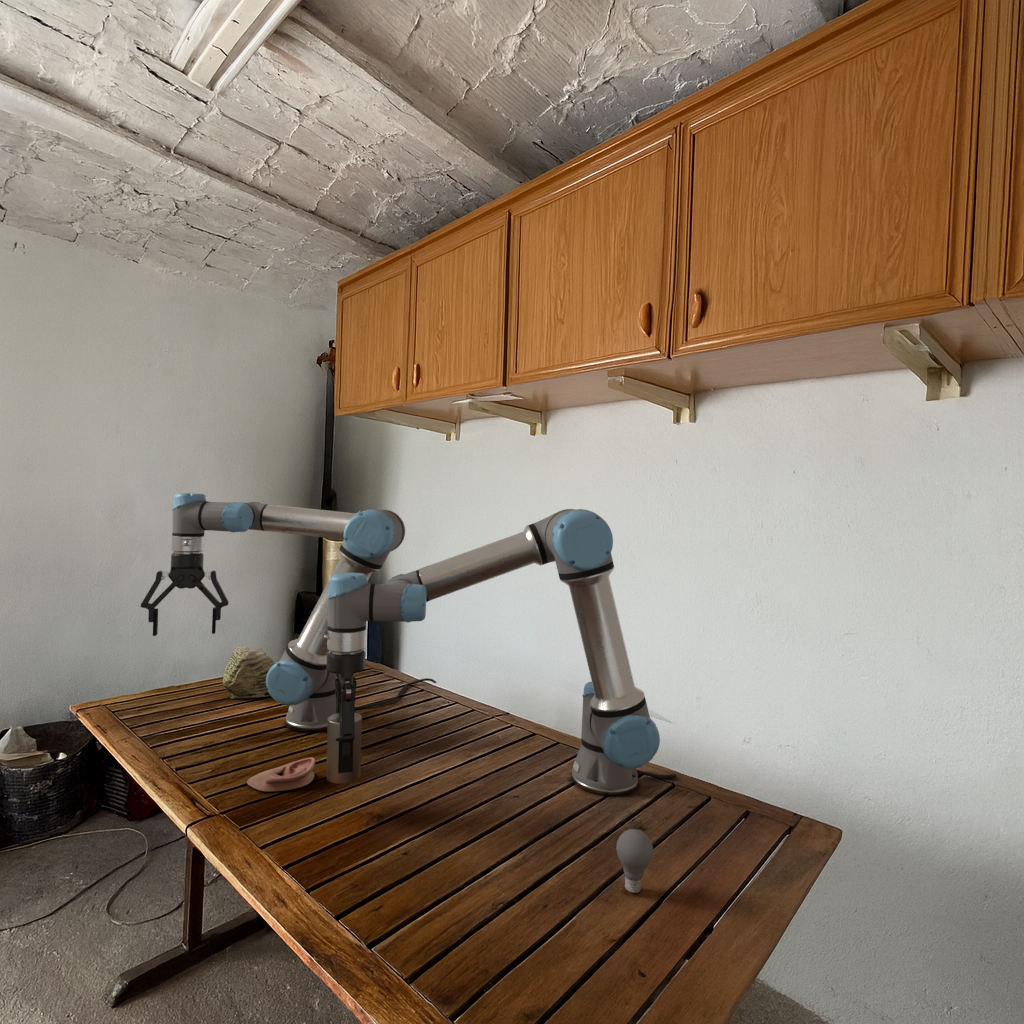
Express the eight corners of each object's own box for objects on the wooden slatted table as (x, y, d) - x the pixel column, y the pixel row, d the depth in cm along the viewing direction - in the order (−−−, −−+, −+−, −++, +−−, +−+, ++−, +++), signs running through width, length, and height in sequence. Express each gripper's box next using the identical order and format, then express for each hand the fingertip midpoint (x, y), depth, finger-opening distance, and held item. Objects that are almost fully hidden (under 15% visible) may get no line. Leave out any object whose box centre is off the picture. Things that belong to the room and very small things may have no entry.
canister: (350, 785, 123) (352, 725, 123) (320, 781, 125) (321, 721, 125) (366, 771, 130) (367, 714, 130) (336, 767, 131) (338, 710, 131)
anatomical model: (238, 769, 136) (269, 749, 147) (238, 787, 136) (269, 766, 147) (295, 777, 133) (322, 756, 144) (294, 796, 133) (321, 773, 144)
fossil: (218, 695, 195) (220, 647, 195) (278, 685, 208) (279, 640, 207) (228, 703, 189) (230, 653, 188) (289, 692, 201) (290, 645, 201)
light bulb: (610, 879, 108) (613, 822, 108) (644, 879, 109) (647, 822, 109) (619, 902, 102) (622, 840, 102) (655, 901, 103) (658, 840, 103)
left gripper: (129, 553, 156) (126, 638, 157) (239, 554, 166) (236, 634, 166) (134, 550, 163) (132, 632, 163) (240, 551, 173) (237, 628, 173)
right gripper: (324, 640, 135) (321, 747, 135) (329, 664, 116) (327, 788, 117) (360, 638, 137) (357, 744, 138) (371, 661, 119) (368, 783, 119)
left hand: (184, 633), depth 165 cm, fingers open, 13 cm apart
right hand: (343, 764), depth 127 cm, fingers closed on canister, 7 cm apart
